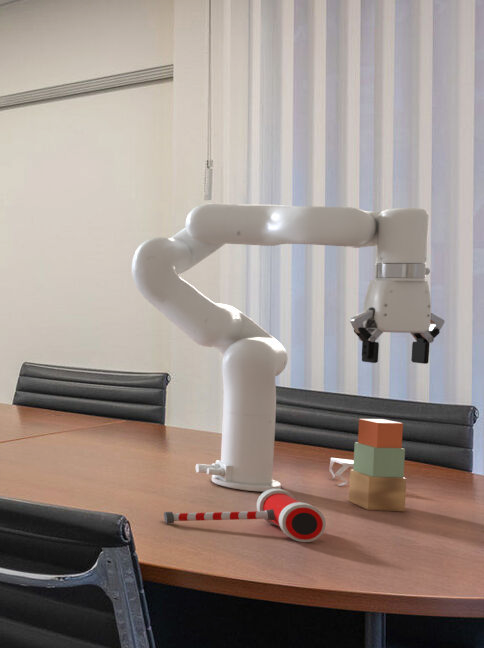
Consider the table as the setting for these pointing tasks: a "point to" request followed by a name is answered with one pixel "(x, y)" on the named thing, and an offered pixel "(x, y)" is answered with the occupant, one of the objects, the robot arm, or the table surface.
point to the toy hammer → (271, 515)
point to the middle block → (379, 461)
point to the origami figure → (345, 465)
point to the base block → (377, 492)
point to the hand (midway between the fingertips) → (394, 362)
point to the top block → (380, 433)
